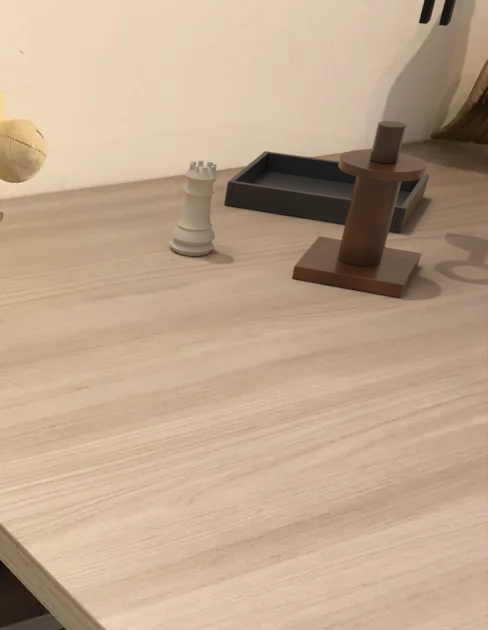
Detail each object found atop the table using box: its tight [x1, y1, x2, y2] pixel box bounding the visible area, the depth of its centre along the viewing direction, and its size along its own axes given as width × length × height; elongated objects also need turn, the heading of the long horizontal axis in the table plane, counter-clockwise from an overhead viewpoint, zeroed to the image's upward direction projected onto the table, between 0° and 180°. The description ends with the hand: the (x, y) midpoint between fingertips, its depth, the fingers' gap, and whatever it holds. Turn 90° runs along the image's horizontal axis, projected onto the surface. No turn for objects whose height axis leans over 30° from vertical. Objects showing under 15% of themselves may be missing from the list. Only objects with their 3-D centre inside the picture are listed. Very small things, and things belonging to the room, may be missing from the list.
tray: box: [223, 150, 430, 234], centre depth 117 cm, size 19×15×2 cm
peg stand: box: [291, 120, 428, 299], centre depth 95 cm, size 10×10×13 cm
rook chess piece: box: [169, 160, 220, 257], centre depth 101 cm, size 4×4×8 cm
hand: (434, 22), depth 101 cm, fingers closed, pressing on hanging ring
